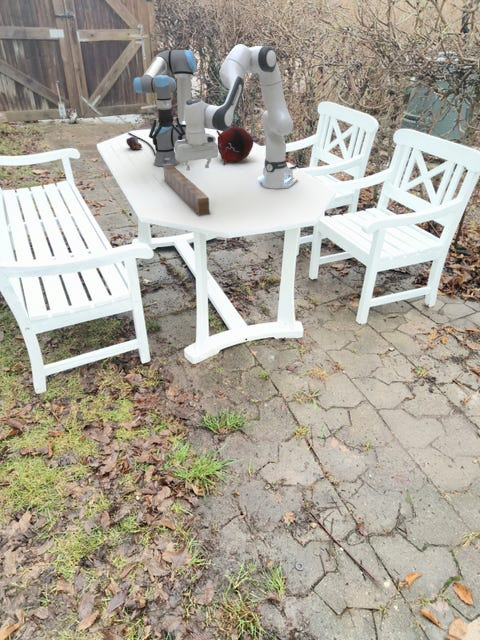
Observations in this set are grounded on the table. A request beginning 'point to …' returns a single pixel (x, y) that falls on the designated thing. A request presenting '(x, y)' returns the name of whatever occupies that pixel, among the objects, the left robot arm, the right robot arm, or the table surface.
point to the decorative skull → (234, 144)
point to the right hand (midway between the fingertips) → (197, 169)
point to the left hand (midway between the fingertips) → (168, 149)
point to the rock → (133, 143)
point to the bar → (187, 190)
